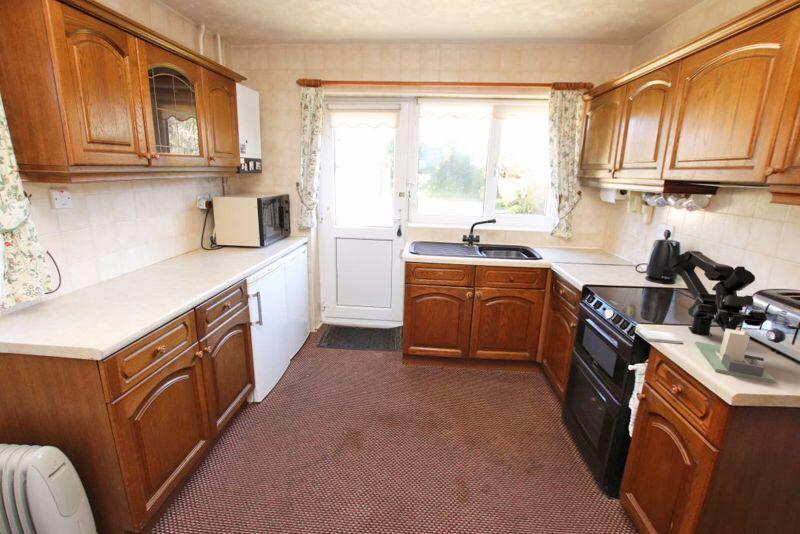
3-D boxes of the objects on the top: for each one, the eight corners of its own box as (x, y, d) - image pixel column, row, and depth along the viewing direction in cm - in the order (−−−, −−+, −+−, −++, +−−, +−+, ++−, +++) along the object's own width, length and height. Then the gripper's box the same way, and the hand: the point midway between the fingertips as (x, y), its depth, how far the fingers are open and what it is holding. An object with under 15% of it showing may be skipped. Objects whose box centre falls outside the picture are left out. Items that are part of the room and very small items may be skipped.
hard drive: (645, 337, 138) (683, 341, 136) (636, 328, 146) (671, 331, 144) (645, 342, 139) (682, 345, 137) (635, 332, 146) (670, 335, 145)
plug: (719, 353, 127) (726, 325, 125) (759, 360, 123) (767, 331, 121) (723, 358, 124) (730, 329, 121) (764, 365, 120) (773, 336, 117)
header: (721, 362, 121) (723, 353, 120) (753, 368, 118) (755, 359, 117) (728, 370, 116) (730, 361, 115) (761, 377, 113) (764, 368, 112)
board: (694, 343, 137) (695, 340, 136) (744, 352, 131) (745, 348, 131) (715, 371, 117) (716, 367, 117) (774, 382, 112) (775, 378, 111)
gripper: (702, 281, 131) (705, 322, 124) (772, 289, 124) (780, 333, 116) (691, 297, 140) (693, 335, 133) (756, 305, 133) (762, 346, 125)
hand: (730, 337), depth 126 cm, fingers closed
